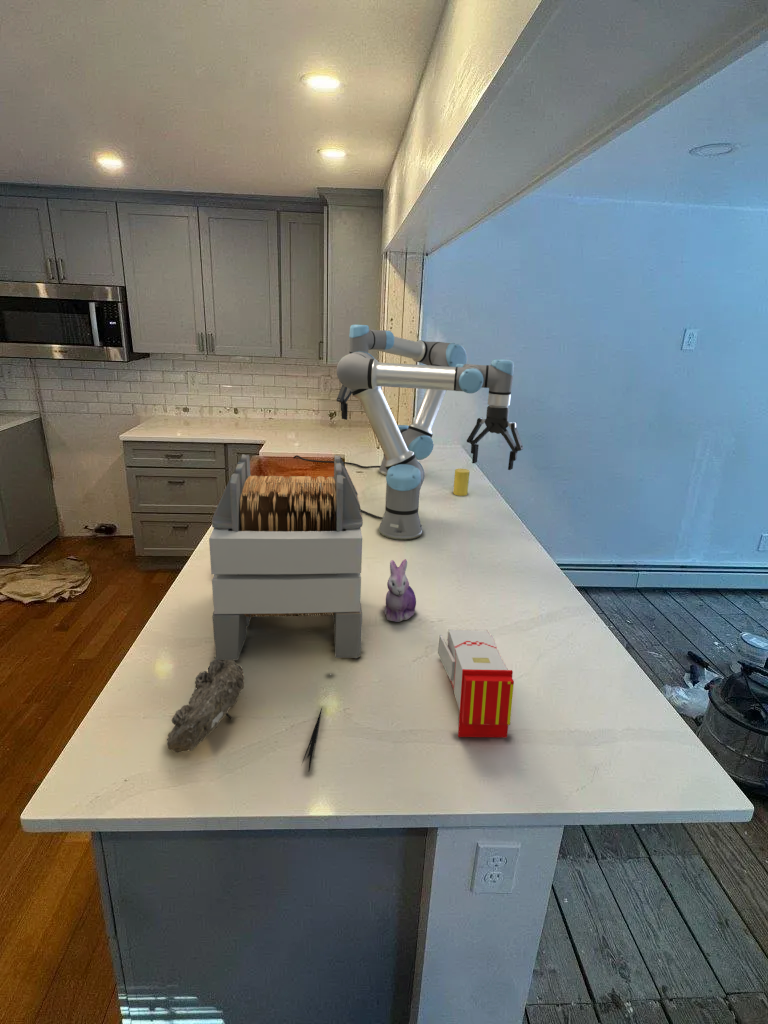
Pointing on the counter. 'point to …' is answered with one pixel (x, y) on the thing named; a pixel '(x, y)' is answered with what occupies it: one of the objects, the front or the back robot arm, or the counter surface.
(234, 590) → the record crate
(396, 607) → the figurine
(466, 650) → the toy
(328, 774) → the counter surface
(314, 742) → the feather
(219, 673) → the fossil
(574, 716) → the counter surface
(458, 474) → the canister
